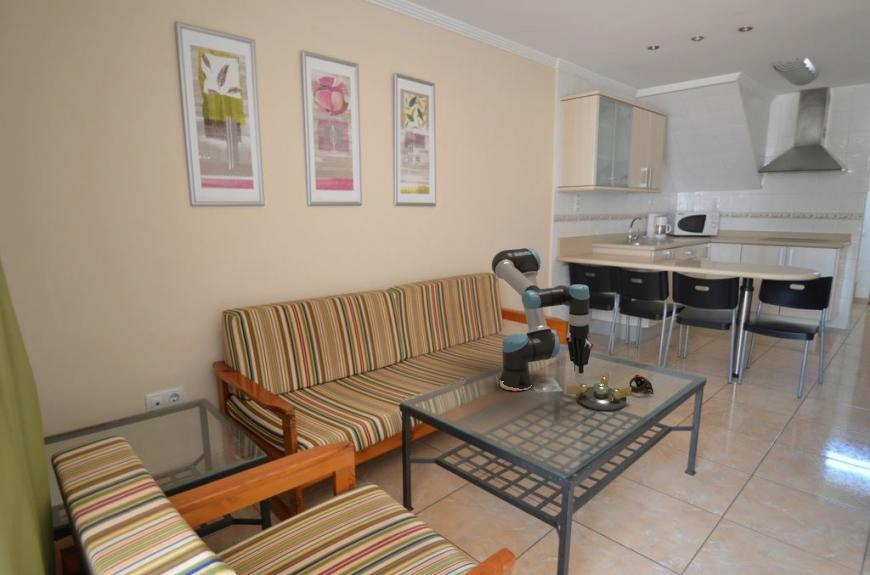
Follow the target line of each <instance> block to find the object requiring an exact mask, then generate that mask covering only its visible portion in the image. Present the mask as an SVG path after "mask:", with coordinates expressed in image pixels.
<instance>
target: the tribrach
mask: <svg viewBox="0 0 870 575" xmlns="http://www.w3.org/2000/svg"><path fill="white" fill-rule="evenodd" d="M613 389H614V388H611V387H610V386H609V385H606V384H603V383H601V382H600V383H599V382H598V383H597V382H596V383H594V384H593V386H587V397H580V394H575V400H576V402H577V403H578V404H579V405H580V406H582V407H583V408H586V409H588V410H591V411H597V412H598V411H599V412H616V411H620V410H622V409H624V408H625V407H626V406H627V397H622V398H620V402H619V403H615V402H613V401H612V394H613Z"/></svg>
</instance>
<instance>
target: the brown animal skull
mask: <svg viewBox="0 0 870 575" xmlns="http://www.w3.org/2000/svg"><path fill="white" fill-rule="evenodd" d="M633 383H635V385H636V386H633V385H632V384H633ZM628 384H629V387H631V393H636V394H638V393H643V392H646V393H647V390H648V391H651V393H652V392H654V387H653V385H652V381H650V380H649V379H648V378H646V377H645V376H642V375H640V374H636V375H634V377H631V379H630V380H629V383H628Z"/></svg>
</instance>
